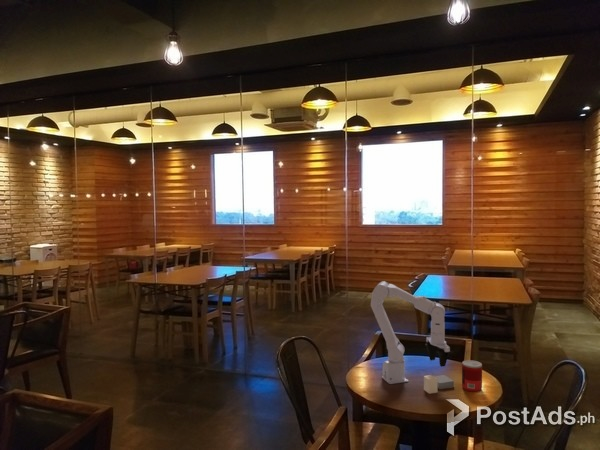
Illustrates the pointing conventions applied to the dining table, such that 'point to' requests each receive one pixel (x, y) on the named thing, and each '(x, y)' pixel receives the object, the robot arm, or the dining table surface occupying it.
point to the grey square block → (444, 382)
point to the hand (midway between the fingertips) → (437, 362)
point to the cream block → (430, 384)
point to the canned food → (472, 376)
